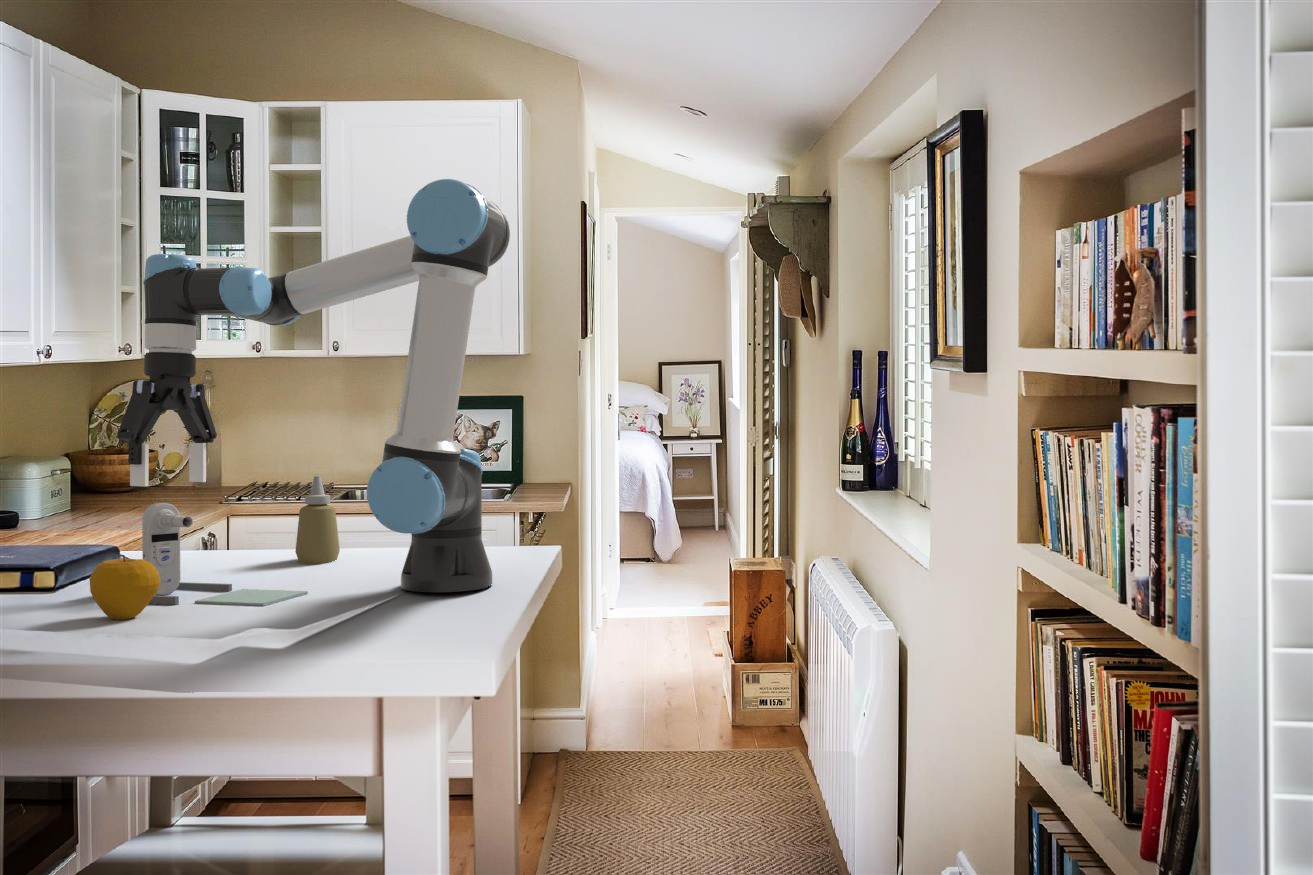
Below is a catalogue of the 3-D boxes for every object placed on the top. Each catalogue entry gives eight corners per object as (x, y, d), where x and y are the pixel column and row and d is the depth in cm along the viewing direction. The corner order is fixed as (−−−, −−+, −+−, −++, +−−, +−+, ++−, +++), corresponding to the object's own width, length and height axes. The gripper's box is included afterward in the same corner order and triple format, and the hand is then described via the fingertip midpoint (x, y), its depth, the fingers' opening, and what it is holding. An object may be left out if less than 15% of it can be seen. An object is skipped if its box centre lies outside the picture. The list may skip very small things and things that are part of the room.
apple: (174, 613, 148) (173, 552, 148) (129, 624, 139) (129, 559, 139) (121, 611, 150) (121, 550, 150) (74, 622, 142) (73, 558, 141)
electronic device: (171, 601, 158) (170, 506, 158) (140, 595, 164) (140, 503, 164) (203, 597, 163) (203, 504, 163) (173, 591, 169) (172, 501, 169)
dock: (252, 586, 174) (252, 562, 174) (175, 604, 156) (175, 578, 155) (166, 583, 178) (166, 560, 178) (81, 601, 159) (80, 575, 159)
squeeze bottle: (308, 567, 199) (307, 475, 199) (347, 567, 198) (346, 475, 198) (287, 572, 191) (287, 477, 191) (328, 573, 190) (327, 477, 190)
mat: (307, 593, 166) (307, 591, 166) (263, 605, 154) (263, 603, 154) (242, 591, 169) (242, 588, 169) (194, 603, 157) (194, 600, 157)
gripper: (200, 358, 176) (200, 479, 177) (91, 346, 152) (90, 487, 152) (239, 357, 175) (238, 480, 175) (134, 345, 150) (133, 488, 151)
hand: (169, 484), depth 164 cm, fingers open, 13 cm apart
